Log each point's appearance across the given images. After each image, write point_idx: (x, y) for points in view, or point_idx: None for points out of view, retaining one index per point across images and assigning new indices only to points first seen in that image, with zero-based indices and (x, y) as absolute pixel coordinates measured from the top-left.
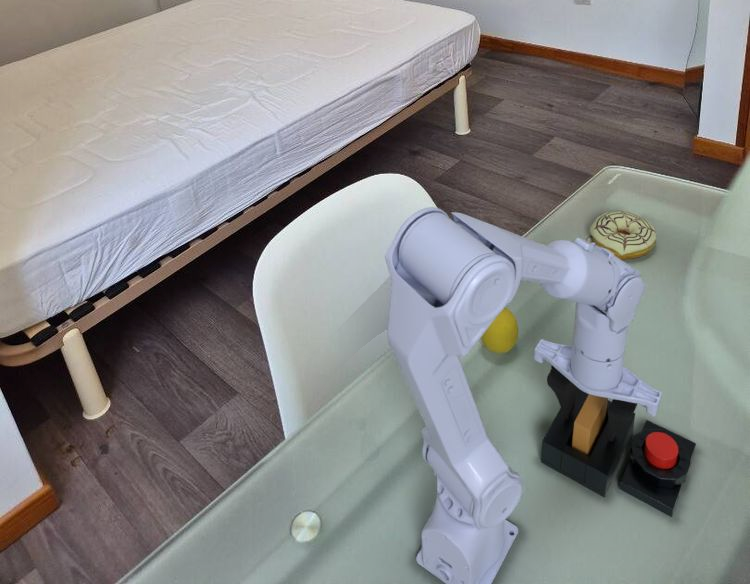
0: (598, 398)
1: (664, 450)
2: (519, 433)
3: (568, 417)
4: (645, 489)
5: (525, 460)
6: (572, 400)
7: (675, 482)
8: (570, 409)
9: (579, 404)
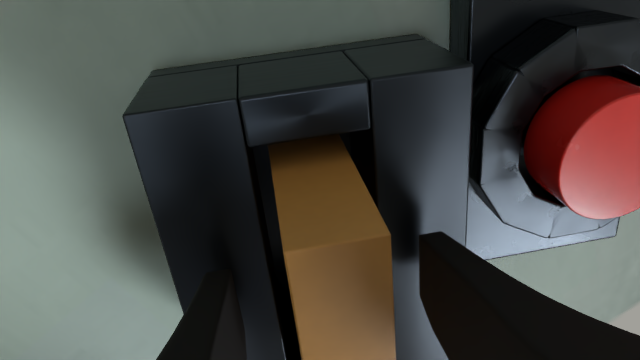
0: (354, 295)
1: (635, 174)
2: (96, 299)
3: (244, 337)
4: (534, 236)
5: None
6: (230, 353)
7: None
8: (240, 348)
9: (227, 206)
